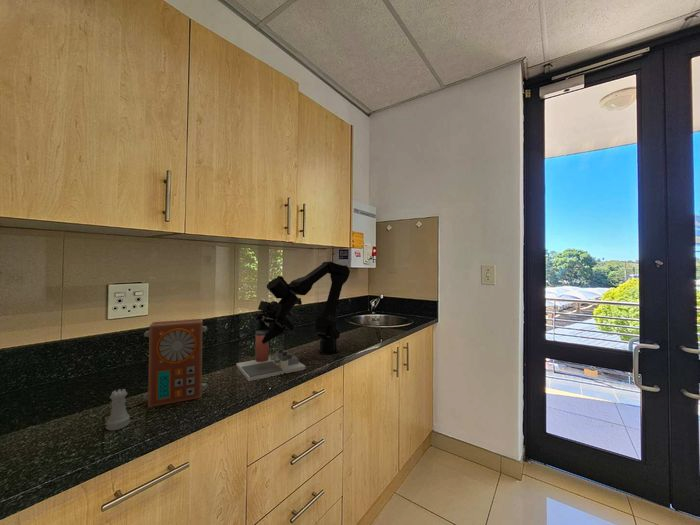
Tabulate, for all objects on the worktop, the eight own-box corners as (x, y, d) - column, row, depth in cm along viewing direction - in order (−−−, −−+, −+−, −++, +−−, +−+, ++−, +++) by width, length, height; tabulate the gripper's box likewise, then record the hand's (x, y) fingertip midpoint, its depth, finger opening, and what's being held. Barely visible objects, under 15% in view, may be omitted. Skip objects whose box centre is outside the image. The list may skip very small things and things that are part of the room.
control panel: (206, 398, 81) (141, 410, 74) (206, 388, 87) (146, 399, 80) (207, 321, 81) (143, 326, 74) (207, 317, 88) (147, 321, 81)
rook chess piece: (100, 429, 65) (101, 393, 65) (122, 419, 69) (123, 386, 69) (113, 433, 63) (114, 396, 64) (134, 423, 68) (135, 388, 68)
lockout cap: (261, 357, 104) (261, 329, 104) (271, 359, 102) (271, 330, 102) (252, 361, 100) (252, 332, 100) (262, 362, 98) (262, 333, 98)
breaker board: (287, 357, 118) (287, 346, 118) (305, 369, 104) (305, 356, 104) (236, 366, 107) (236, 354, 107) (248, 381, 93) (248, 366, 93)
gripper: (257, 291, 111) (229, 324, 102) (288, 294, 99) (259, 331, 90) (274, 309, 116) (249, 342, 108) (305, 314, 104) (280, 351, 96)
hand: (258, 341), depth 100 cm, fingers closed on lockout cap, 4 cm apart
